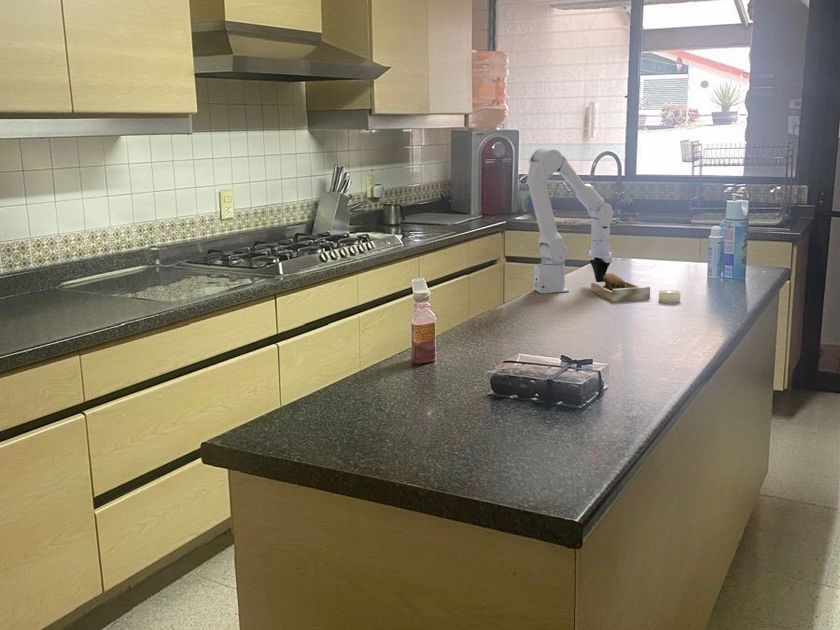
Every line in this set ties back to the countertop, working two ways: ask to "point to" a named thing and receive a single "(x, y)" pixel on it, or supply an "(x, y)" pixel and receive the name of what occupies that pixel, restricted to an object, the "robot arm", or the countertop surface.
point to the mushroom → (613, 282)
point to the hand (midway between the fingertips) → (599, 281)
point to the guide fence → (623, 292)
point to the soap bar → (669, 296)
